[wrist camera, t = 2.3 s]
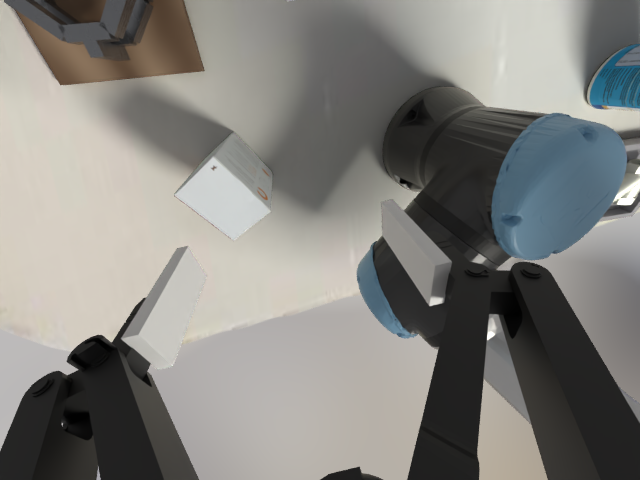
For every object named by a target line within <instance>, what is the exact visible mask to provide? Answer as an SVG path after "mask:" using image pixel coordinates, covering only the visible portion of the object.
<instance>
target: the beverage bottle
mask: <svg viewBox="0 0 640 480" xmlns="http://www.w3.org/2000/svg"><path fill="white" fill-rule="evenodd" d="M587 100H588V103H589V105H590V106H591V107H593V108H596V109H615V110H627V111H638V112H640V44H634V45H630V46H627V47H625V48H622V49H621V50H619V51H617V52H616V53H614V54H613V55H612V56H611V57H609V58H608V59H607V60H606V61H605V62H604V63H603V64H602V65H601V67H600V68H599V69H598V71H597V72H596V73H595V75H594V77H593V78H592V80H591V82H590V85H589V88H588V92H587Z"/></svg>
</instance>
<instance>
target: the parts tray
mask: <svg viewBox="0 0 640 480" xmlns="http://www.w3.org/2000/svg"><path fill="white" fill-rule="evenodd" d="M622 141H623V143H624V145H625V149H626V153H627V163H628V161H629V160H632V159H640V137H638V138H631V139H623V140H622ZM639 207H640V192H639V193H638V196H637V198H636V199H635V201H634V202H633V203H632V204H631V205H617V204H613V203H612V204H611V206H610V207H609V209H608V210H607V211H606V212H605V214H604V215H603V217H602V218H601V219H600V220H599V221H606V220H612V219H618V218H624V217H630V216H633V215H634V214H635V212H636V211H637V210H638V208H639ZM599 221H598V222H599Z"/></svg>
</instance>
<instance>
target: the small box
mask: <svg viewBox="0 0 640 480" xmlns="http://www.w3.org/2000/svg"><path fill="white" fill-rule="evenodd" d="M272 180H273V173H272V171H271V170H270V169H269V168H268V167H267V166H266V165H265V164H264V163H263V162H262V161H261V160H260V158H259V157H258V156H257V155H256V154H255V153H254V152H253V151H252V150H251V149H250V148H249V147H248V146H247V145H246V144H245V143H244V141H243V140H242V139H241V138H240V137H239V136H238V135H237V134H236V133H235V132H232V133H231V134H230V135H229V136H228V137H227V138H226V139H225V140H224V141H223V142H222V143H221V144H220V145H219V146H218V147H216V148H215V149H214V150H213V151H212V152H211V153H210V154H209V155H208V156H207V157H206V158H205V159H204V160H203V162H202V163H201V164H200V165H199V166H198V167H197V168H196V169H195V170H194V172H193V173H192V174H191V175H190V176H189V177H188V178H187V180H186V181H185V182H184V183H183V184H182V185H181V186H180V188H179V189H178V190H177V191H176V193H175V194H174V196H175V197H176V198H178V199H179V200H180V201H182V202H183V203H184V204H186V205H187V206H188V207H190V208H191V209H192V210H194V211H195V212H196V213H198V214H199V215H200V216H202V217H203V218H204V219H205V220H207V221H208V222H209V223H211V224H212V225H213V226H215V227H216V228H217V229H219V230H220V231H221V232H223V233H224V234H225V235H227V236H228V237H229V238H230V239H232V240H233V241H234V240H235V239H237V238H238V237H239V236H240V235H242V234H243V233H244V232H245V231H247V230H248V229H249V228H251V227H252V226H253V225H254V224H256V223H257V222H258V221H259V220H261V219H262V218H263V217H265V216H266V215H267V214H268V213H270V212H271V198H272Z"/></svg>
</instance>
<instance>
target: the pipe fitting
mask: <svg viewBox="0 0 640 480" xmlns="http://www.w3.org/2000/svg"><path fill="white" fill-rule="evenodd" d="M639 192H640V159H632V160H629V161H628V163H627V165H626V171H625V175H624V179H623V181H622V183H621V185H620V188H619V191H618V193H617V195H616V197H615V199H614V201H613V202H612V203H613V204H617V205H631V204H632V203H633V202H634V201H635V199H636V198H637V196H638V193H639Z"/></svg>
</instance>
